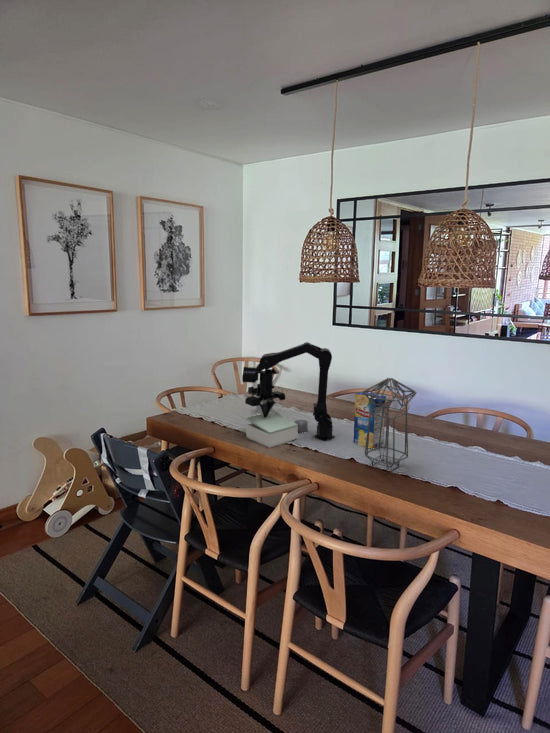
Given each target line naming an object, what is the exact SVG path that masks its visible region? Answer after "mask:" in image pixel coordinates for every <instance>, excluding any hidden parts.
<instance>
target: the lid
mask: <svg viewBox="0 0 550 733" xmlns="http://www.w3.org/2000/svg"><path fill="white" fill-rule="evenodd" d="M246 420H247V421H248V422H250V424H251V423H253V424H254V425H256V426H258V427H259V428H261V429H262V430H264V431H266V432H267V433H269V434H272V433H275V432H279V431H282V430H286V429H289V428H293V427H296V426H298V424H296V423H295V421H293V420H291V419H289V418H288V417H285V416H284V415H282V414H281V413H278V412H276V411H275V410H272V412H269V414H268V415H267V417H264V416H263V414H260V415H257V414H256V415H253V416H252V415H251V416H249V417H246Z"/></svg>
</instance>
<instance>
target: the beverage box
mask: <svg viewBox="0 0 550 733" xmlns="http://www.w3.org/2000/svg"><path fill="white" fill-rule="evenodd" d="M362 392H363V391H360V392H356V393H355V394H354V395H355V396H354V419H353V440H352V441H353V442H356V443H359V444H362V445H364V446H366V438H367V431H368V423H369V413H370V412H369V409H370V400H369V399H368V398H367V397H366V396H365V395H364V394H362ZM366 393H368V394H371V392H366ZM372 395H375V392H372ZM367 396H368V395H367ZM376 396H377V395H376ZM380 396H381V394H379V395H378V397H379V398H380ZM368 397H369V398H370V399H371V397H370V396H368ZM382 398H383V399H387V396H386V395H383V396H382ZM372 401H373V398H372ZM381 401H382V402H383V403H386V402H387V400H381ZM381 401H380V404H382V402H381ZM374 403H375V404H379V399H376V398H374ZM374 406H375V405H373V403H371V410H373V408H374ZM382 406H384V405H382ZM385 406H387V404H385ZM378 407H381V406H379V405H376V406H375V408H374V409H376V408H378ZM384 410H385V411H386V408H384ZM371 412H372V411H371ZM372 413H373V414H376V415H380V416H382V407H381V408H378V409H376V410H373V412H372ZM373 414H371V419H370V432H369V445H368V447H369V448H372V449H373V448H376V447H378V445H379V437H380V428H381V418H382V417H380V416H376V415H373ZM383 417H386V414H385V413H384V412H383ZM385 423H386V418H383V422H382V431H381V440H380V446H382V445H383V446H384V445H385V443H384V440H385V427H386V424H385ZM356 443H355V444H356ZM369 448H368V449H369Z"/></svg>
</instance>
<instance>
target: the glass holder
mask: <svg viewBox="0 0 550 733" xmlns="http://www.w3.org/2000/svg"><path fill="white" fill-rule="evenodd" d="M259 384H260V383H258V384H257V385H259ZM257 385H256V386H257ZM278 388H281V392H282V393H284V389H283V387H282V386H280V385H278V386H276V387H274V391H273V392H275V391H277V390H276V389H278ZM256 397H257V398H259V396H256ZM280 401H281V400H279V399H278V400H277V401H275V402H276V403H275V404H274V405H273V407H275V406H276V405H277V404H278V403H279V402H280ZM273 407H272V408H271V410H270V412H272V411H273ZM256 413H258V414H263V413H262V410H261V407H260V405H258V406H256V412H255V414H256Z"/></svg>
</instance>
